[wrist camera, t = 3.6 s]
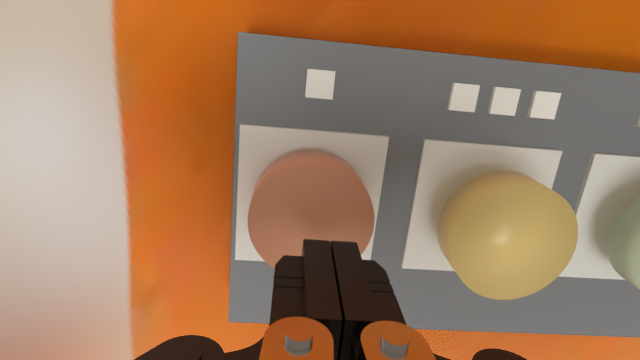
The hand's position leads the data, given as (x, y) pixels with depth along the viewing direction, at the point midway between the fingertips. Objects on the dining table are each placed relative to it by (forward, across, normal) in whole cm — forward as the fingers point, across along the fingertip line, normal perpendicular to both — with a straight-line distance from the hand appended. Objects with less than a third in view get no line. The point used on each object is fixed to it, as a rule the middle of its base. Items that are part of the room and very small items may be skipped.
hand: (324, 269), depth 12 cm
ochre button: (+4, -7, 0) cm, 8 cm away
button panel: (+8, -7, 0) cm, 10 cm away
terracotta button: (+4, 0, 0) cm, 4 cm away
